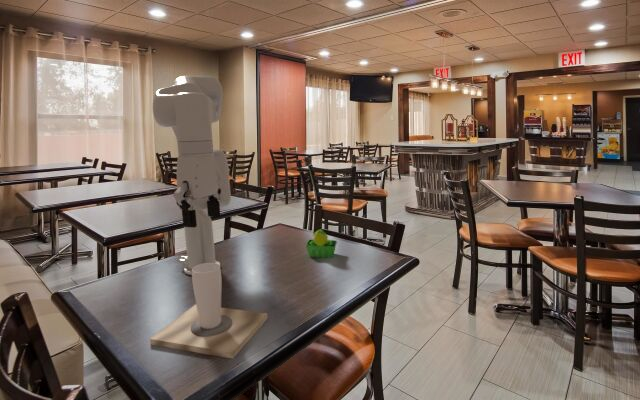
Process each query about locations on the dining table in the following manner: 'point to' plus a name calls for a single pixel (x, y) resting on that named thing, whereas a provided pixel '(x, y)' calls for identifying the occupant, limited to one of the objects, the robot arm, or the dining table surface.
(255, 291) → the dining table surface
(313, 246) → the fruit basket
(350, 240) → the dining table surface
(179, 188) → the robot arm
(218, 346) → the serving board
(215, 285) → the drinking glass
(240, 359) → the dining table surface
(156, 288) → the dining table surface
